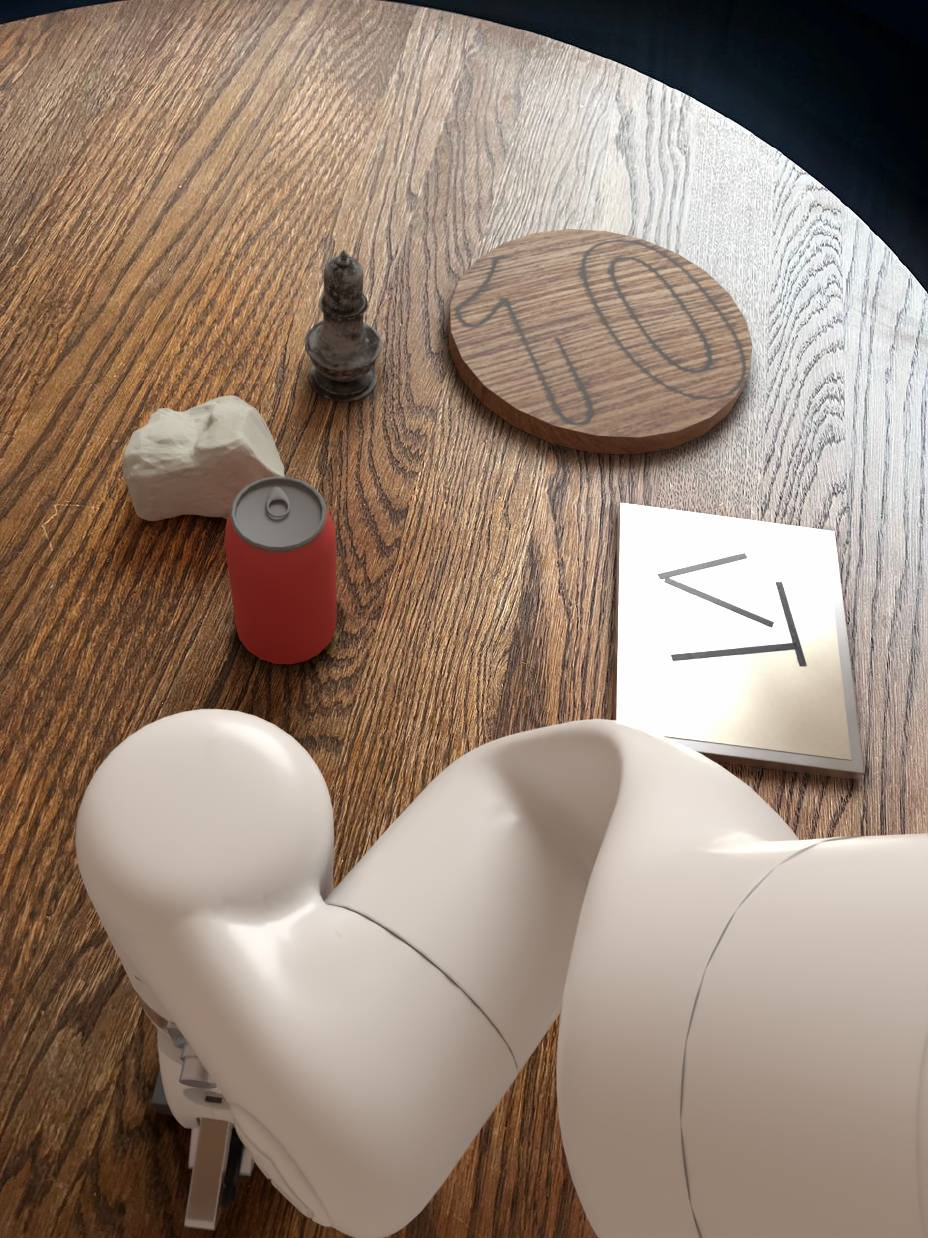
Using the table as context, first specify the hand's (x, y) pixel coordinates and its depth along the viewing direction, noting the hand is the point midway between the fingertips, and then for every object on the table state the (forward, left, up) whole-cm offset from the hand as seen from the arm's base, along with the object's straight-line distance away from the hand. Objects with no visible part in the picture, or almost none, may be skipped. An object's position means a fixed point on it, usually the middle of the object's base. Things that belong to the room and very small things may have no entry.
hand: (253, 1051), depth 56 cm
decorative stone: (+40, +12, -4) cm, 42 cm away
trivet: (+60, -16, -4) cm, 62 cm away
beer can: (+28, +4, -4) cm, 28 cm away
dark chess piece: (+52, +4, -4) cm, 52 cm away
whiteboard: (+32, -26, -4) cm, 41 cm away
